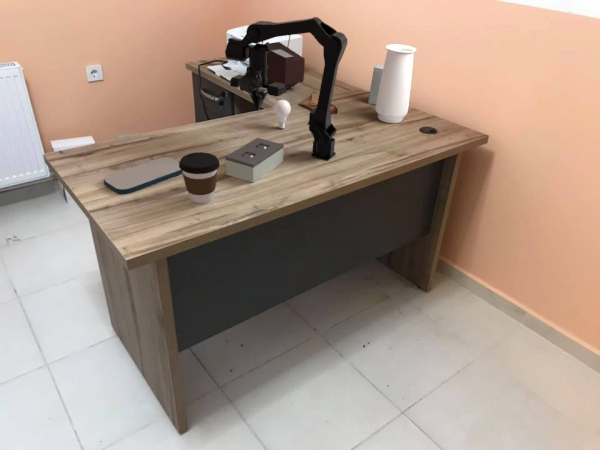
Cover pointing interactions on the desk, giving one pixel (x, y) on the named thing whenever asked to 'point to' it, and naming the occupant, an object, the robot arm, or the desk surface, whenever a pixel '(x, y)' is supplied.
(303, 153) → the desk surface
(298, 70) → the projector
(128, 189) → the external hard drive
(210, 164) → the coffee cup
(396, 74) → the vase
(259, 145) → the inner peg
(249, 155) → the outer peg
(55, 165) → the desk surface
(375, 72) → the skincare box
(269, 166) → the press block
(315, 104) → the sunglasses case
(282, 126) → the lightbulb
